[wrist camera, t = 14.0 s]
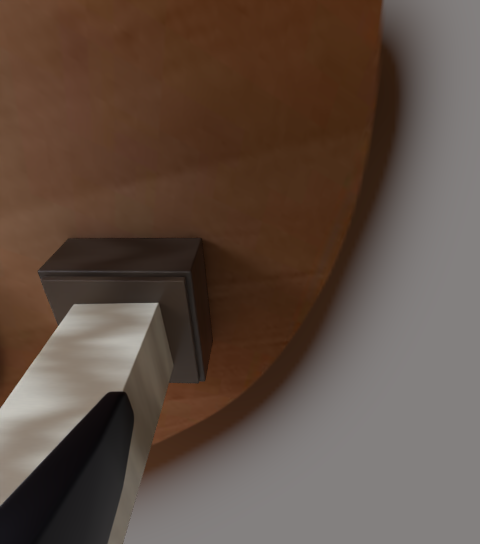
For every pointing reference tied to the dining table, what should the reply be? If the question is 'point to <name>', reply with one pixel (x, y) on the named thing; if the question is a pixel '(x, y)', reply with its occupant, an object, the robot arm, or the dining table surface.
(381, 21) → the dining table surface
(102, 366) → the block
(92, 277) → the stand
